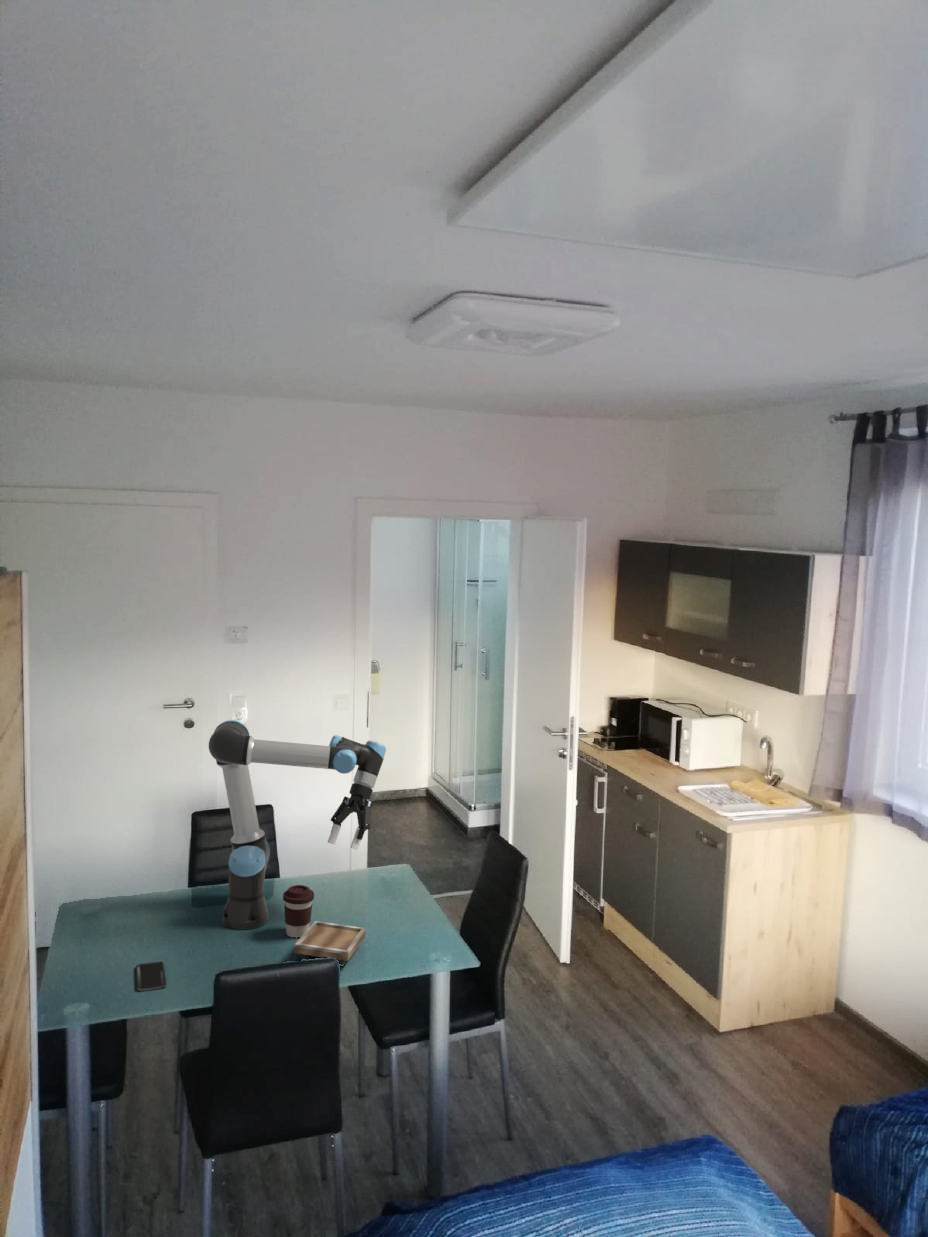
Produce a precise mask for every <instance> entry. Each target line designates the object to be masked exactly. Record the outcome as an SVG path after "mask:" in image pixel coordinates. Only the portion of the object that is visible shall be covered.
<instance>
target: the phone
mask: <svg viewBox="0 0 928 1237" xmlns="http://www.w3.org/2000/svg"><path fill="white" fill-rule="evenodd" d="M135 968H136V969H135V972H136V973H135V974H136V975H135V976H136V978H135V979H136V992H139V993H142V992H149V991H150V992H151V991H159V990H164V989H166V988H167V978H166V971H165V970H166V968H165V962H164V961H155V962H147V963H146V962H145V963H139V964H137V965H136V967H135Z"/></svg>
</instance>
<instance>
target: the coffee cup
mask: <svg viewBox="0 0 928 1237" xmlns="http://www.w3.org/2000/svg"><path fill="white" fill-rule="evenodd" d="M314 899H315V892H314V891H313V890H312V889H310V887H308V886H307V885H303V884H301V885H300V884H296V885H291V886H290V887H288V888H287V889H286V890H285V891H284V892H283V894H282V900H283V901H284V903H283V904H284V922H285V934H286V935H287V936H288V937H290V938H293V937H296V938H295V939H298V938H297V937H300V938H301V936H302V935H303V934H304V933H305V932H306V931H307V930H308V928H309V927H310V922H311V921H312V920H311V919H312V910H313V900H314Z"/></svg>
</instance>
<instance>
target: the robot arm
mask: <svg viewBox="0 0 928 1237" xmlns="http://www.w3.org/2000/svg"><path fill="white" fill-rule="evenodd" d="M208 750H209V753H210V755H211V757H213V759H215V761H216V762H215V763H216V765H217V766H219V767H220V768H221V769H222V774H223V780H224V784H225V790H226V796H227V801H228V802H227V803H228V806H229V812H230V817H231V824H232V828H233V836H232V837H231V838H230V843H231V849H232V851H231V853H230V855H229V859H228V892H227V894H228V896H227V897H228V898H227V899H226V903H225V906H224V909H223V911H222V914H221V915H222V918H221V922H222V924H223V925H224V926H225V927H228V928H229V929H233V930H252V929H256V928H260V927H262V926H263V925H265V924H267V923H268V922H269V920H270V919H269V918H270V913H269V912H270V911H269V908H268V905H267V901H266V898H265V879H266V878H265V877H266V871H267V866H268V862H269V860H270V856H271V850H270V845H269V843H268V841H267V839H266V833H265V831H264V830H263V829H261V828H260V825H259V820H258V819H259V818H258V813H257V808H256V801H255V796H254V791H253V790H254V789H253V785H252V781H251V780H252V779H251V774H250V769H249V765H250V764H251V763H255V764H264V765H265V764H266V765H277V766H287V767H300V768H312V769H324V770H335V771H337V772H338V773H339V774H343V775H344V774H350V773H351V772H352V771H353V770H355V768H356V766H357V769H356V772H355V774H354V777H353V779H352V780H353V783H351V786H350V789H349V794H350V797H348V796H344V797H343V799H342V801H341V803H340V805H339V806H338V808H337V809H336V810H335V812H334V813H333V815H332V817H331V818H330V822H332V826H331V830H330V835H329V836H328V840H327V843H328V844H331V845H336V843H337V840H338V836H339V834H340V831H341V829H342V824H343V822H345V820H346V819H347V818H348V816H350V815H351V814H353V813H356V817H357V824H358V826H357V827H356V830H355V833H354V836H353V838H352V841H351V844H350V846H349V847H350V848H351V849H353V850H356V851H359V847H360V845H361V842H362V840H363V837H364V836H365V835H364V834H365V832H366V831H367V830H368V831H370V829H371V826H372V824H371V822H372V821H371V820H372V819H371V817H372V808H373V807H372V806H373V802H372V801H370V799H371V797H372V794H373V791H374V790H373V788H375V785H376V781H377V779H378V776H379V773H380V771H381V767H382V765H383V762H384V760H385V756H386V751H387V748H386V745H384V744H383V743H380V742H377V741H374V740H367V741H366V743H365V744H363V743H360V742H357V741H355V740H352V739H349V738H347V737H345V736H339V735H337V734H335V735H333V736H332V737H331V739H330V742H329V745H320V744H309V743H297V742H289V741H288V742H287V741H279V740H278V741H275V740H265V739H255V738H254V737H253V735H250V732H249V729H248V728H247V726H246V725H245V724H244V723H243V722H242V721H239V720H235V719H229V720H226V721H223V722H222V723H219V724H218V725H217V726H216V728H215V729H214V731H213V733H212V734H211V736H210V737H209V739H208Z"/></svg>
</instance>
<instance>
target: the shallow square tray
mask: <svg viewBox="0 0 928 1237" xmlns="http://www.w3.org/2000/svg"><path fill="white" fill-rule="evenodd" d="M366 933H367V932H366V927H361V926H360V927H359V926H353V925H348V924H339V923H331V922H326V921H320V920H319V921H318V920H315V921H313V923H312V924H311V925H309V928H308V930H307V931H306V932H305V933H304V934H303V935H302V936H301V937H300V938H299V939H298V940H297V941H296V942H295V943H294V952H293V953H294V954H299V955H300V956H301V957H300V958H301V960H302V959H307V958H309V956H310V957H311V956H312V957H319V958H324V957H332V958H336V959H335V960H337V959H338V960H337V961H338V963H339V962H340V964H341V965H343V964H344V963H345V964H346V962H349V961H350V959H351V958H352V956H353V954H354V953H355V952H356V951H357V949H358V947H359V946H360V945H361V944H362V943H363V941H364V939H365V938H366ZM307 960H308V959H307ZM345 961H346V962H345Z"/></svg>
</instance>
